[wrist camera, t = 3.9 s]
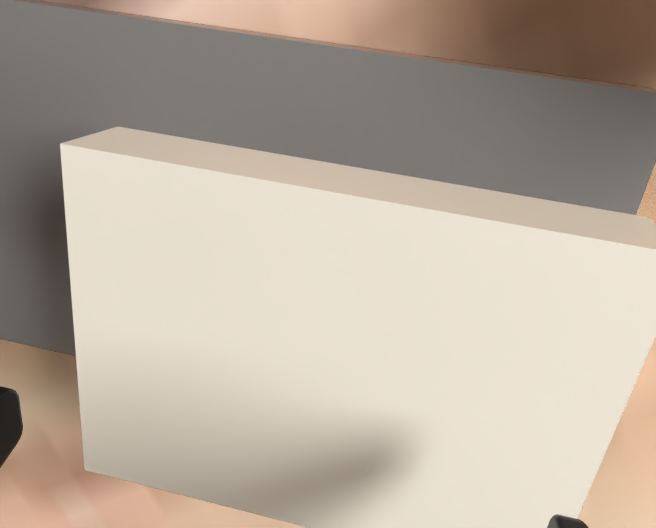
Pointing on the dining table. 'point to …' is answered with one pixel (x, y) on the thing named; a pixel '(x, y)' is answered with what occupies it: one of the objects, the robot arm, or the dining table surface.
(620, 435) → the dining table surface
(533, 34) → the dining table surface
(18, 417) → the robot arm
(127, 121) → the key panel
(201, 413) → the cream rectangular block
